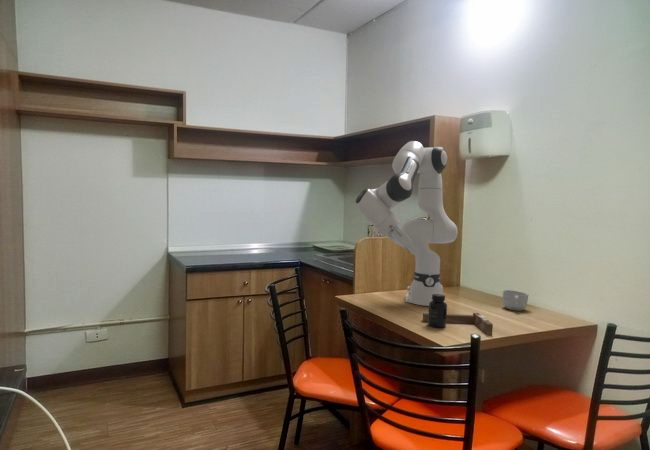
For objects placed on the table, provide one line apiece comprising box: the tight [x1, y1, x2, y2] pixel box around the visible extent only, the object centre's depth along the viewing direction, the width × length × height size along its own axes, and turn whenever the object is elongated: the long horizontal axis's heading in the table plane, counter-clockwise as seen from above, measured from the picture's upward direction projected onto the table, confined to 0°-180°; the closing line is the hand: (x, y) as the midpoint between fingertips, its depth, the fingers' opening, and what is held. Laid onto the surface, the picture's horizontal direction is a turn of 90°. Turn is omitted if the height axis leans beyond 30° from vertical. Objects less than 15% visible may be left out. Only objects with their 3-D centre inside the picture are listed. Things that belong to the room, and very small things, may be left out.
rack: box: [422, 312, 494, 336], centre depth 174 cm, size 16×22×4 cm
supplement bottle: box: [427, 294, 448, 329], centre depth 175 cm, size 7×7×12 cm
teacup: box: [502, 289, 529, 312], centre depth 207 cm, size 14×11×8 cm
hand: (412, 252), depth 175 cm, fingers open, 8 cm apart
